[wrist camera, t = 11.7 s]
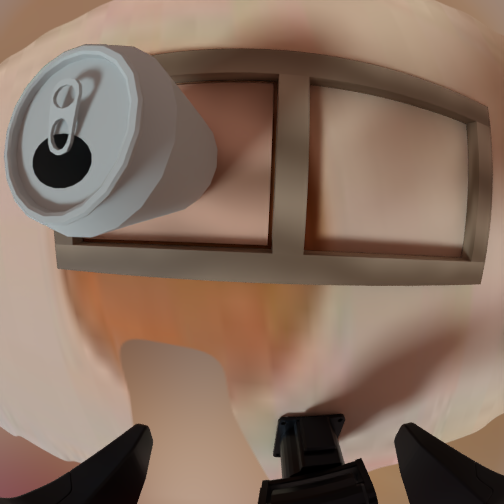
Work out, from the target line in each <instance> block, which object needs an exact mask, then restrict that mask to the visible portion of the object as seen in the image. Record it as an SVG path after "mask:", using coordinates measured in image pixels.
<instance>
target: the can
mask: <svg viewBox="0 0 504 504" xmlns="http://www.w3.org/2000/svg"><path fill="white" fill-rule="evenodd" d="M217 151H218V149H217V145H216V142H215V138H214V135H213V132H212V131H211V129H210V128H209V127H208V125H207V124H206V122H205V121H204V119H203V118H202V117H201V116H200V114H199V113H198V112H197V110H196V109H195V108H194V106H193V105H192V104H191V102H190V101H189V100H188V99H187V97H186V96H185V95H184V93H183V92H182V91H181V90H180V88H179V87H178V86H177V85H176V83H175V82H174V81H173V80H172V78H171V77H170V76H169V75H168V73H167V72H166V71H165V70H164V68H163V67H162V66H161V65H160V63H159V62H158V61H157V60H156V58H154V57H153V56H151V55H149V54H147V53H145V52H143V51H141V50H139V49H137V48H135V47H132V46H118V45H106V44H85V45H82V46H79V47H76V48H73V49H71V50H68V51H65V52H63V53H62V54H61V55H59V56H58V57H56V58H55V59H53V60H52V61H51V62H49V63H48V64H46V65H45V66H44V67H43V68H42V69H41V70H40V71H39V72H38V73H37V75H36V76H35V77H34V78H33V79H32V80H31V82H30V83H29V84H28V85H27V87H26V88H25V90H24V92H23V93H22V95H21V97H20V99H19V101H18V102H17V104H16V106H15V108H14V111H13V114H12V117H11V120H10V123H9V126H8V129H7V134H6V142H5V152H4V161H5V170H6V178H7V182H8V185H9V187H10V190H11V193H12V195H13V198H14V200H15V202H16V203H17V204H18V206H19V207H20V208H21V209H22V210H23V212H24V213H25V214H26V215H27V216H28V217H29V218H31V219H33V220H35V221H37V222H39V223H41V224H43V225H46V226H47V227H49V228H51V229H53V230H55V231H57V232H59V233H61V234H63V235H65V236H67V237H94V236H98V235H101V234H104V233H107V232H110V231H113V230H117V229H120V228H123V227H126V226H130V225H133V224H136V223H140V222H143V221H147V220H150V219H154V218H157V217H161V216H164V215H168V214H171V213H174V212H177V211H181V210H184V209H186V208H187V207H189V206H190V205H191V204H193V203H194V202H196V201H197V200H198V199H200V197H201V196H202V195H203V193H204V192H205V191H206V189H207V188H208V187H209V185H210V184H211V181H212V178H213V176H214V173H215V170H216V168H217Z"/></svg>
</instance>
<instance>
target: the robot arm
mask: <svg viewBox="0 0 504 504" xmlns="http://www.w3.org/2000/svg"><path fill="white" fill-rule="evenodd" d="M344 421H345V417H344V415H343V414H337V415H325V416H308V417H282V418H280V419H279V420H278V425H277V431H276V438H275V444H274V450H273V456H274V457H281V468H282V479H277V480H270V481H269V480H264V481H263V482H262V487H261V488H260V493H259V500H258V504H378V500H377V496H376V492H375V489H374V487H373V484H372V482H371V480H370V477H369V475H368V472H367V470H366V468H365V465H364V463H363V461H362V459H361V458H360V459H357V460H355V461H353V462H350V463H347V464H345V463H344V460H343V456H342V452H341V449H340V445H339V442H338V437H339V435H340V432H341V429H342V427H343V424H344ZM394 443H395V448H396V453H397V458H398V463H399V468H400V473H401V477H402V480H403V483H404V486H405V489H406V492H407V496H408V499H409V503H410V504H504V475H501V474H498V473H496V472H494V471H492V470H490V469H488V468H486V467H484V466H482V465H481V464H479V463H477V462H475V461H473V460H472V459H470V458H468V457H467V456H465V455H463V454H461V453H460V452H458V451H457V450H455V449H454V448H452V447H450V446H449V445H447V444H445V443H444V442H442V441H441V440H439V439H438V438H436V437H434V436H433V435H431V434H430V433H428V432H427V431H425V430H423V429H422V428H420V427H419V426H417V425H416V424H414V423H406V424H403V425H402V426H401V427H400V429H399V431H398V433H397V435H396V437H395V440H394ZM152 446H153V439H152V436H151V432H150V429H149V427H148V426H146V425H143V424H136V425H134V426H133V427H131V428H130V429H129V430H127V431H126V432H125V433H123V434H122V435H121V436H119V437H118V438H117V439H115V440H114V441H112V442H111V443H110V444H108V445H107V446H106V447H104V448H103V449H101V450H100V451H98V452H97V453H96V454H94V455H93V456H91V457H90V458H88V459H87V460H85V461H84V462H83V463H81V464H80V465H79V466H77V467H75V468H74V469H72V470H71V471H70V472H68V473H66V474H64V475H63V476H61V477H59V478H58V479H56V480H54V481H53V482H51V483H49V484H47V485H44V486H42V487H40V488H38V489H35V490H33V491H31V492H28V493H26V494H24V495H21V496H18V497H14V498H0V504H137V502H138V499H139V496H140V493H141V490H142V488H143V485H144V482H145V479H146V474H147V470H148V465H149V460H150V455H151V450H152Z"/></svg>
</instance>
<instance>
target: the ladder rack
mask: <svg viewBox="0 0 504 504" xmlns="http://www.w3.org/2000/svg"><path fill="white" fill-rule="evenodd" d="M152 56H153V57H154V58H156V60H157V61H158V62H159V63H160V65H161V66H162V67H163V68H164V70H165V71H166V72H167V73H168V75H169V76H170V77H171V78H172V80H173V81H174V82H175V83H183V82H197V81H226V80H243V81H272V82H278V92H277V129H276V158H275V183H274V206H273V227H272V246H271V249H261V248H237V247H213V246H188V245H162V244H135V243H108V242H83V239H112V240H143V241H171V242H198V243H224V244H249V245H267V243H268V223H269V201H270V177H271V151H272V122H273V88H274V84H270V83H198V84H183V85H177V86H178V87H179V88H180V90H181V91H182V92H183V93H184V95H185V96H186V97H187V99H188V100H189V101H190V102H191V104H192V105H193V106H194V108H195V109H196V110H197V112H198V113H199V114H200V116H201V117H202V118H203V119H204V121H205V122H206V124H207V125H208V127H209V128H210V129H211V131H212V132H213V135H214V138H215V142H216V145H217V149H218V151H217V168H216V170H215V173H214V176H213V178H212V181H211V184H210V185H209V187H208V188H207V189H206V191H205V192H204V193H203V195H202V196H201V197H200V199H198V200H197V201H196V202H194V203H193V204H191V205H190V206H189V207H187V208H186V209H184V210H181V211H177V212H174V213H171V214H168V215H164V216H161V217H157V218H154V219H150V220H147V221H143V222H140V223H136V224H133V225H130V226H126V227H123V228H120V229H117V230H113V231H110V232H107V233H104V234H101V235H98V236H94V237H67V236H65V235H63V234H61V233H59V232H57V231H55V230H54V237H55V250H56V259H57V268H58V269H66V270H76V271H87V272H98V273H109V274H121V275H134V276H147V277H161V278H176V279H192V280H209V281H228V282H250V283H276V284H308V285H365V286H419V285H471V284H481V279H482V274H483V269H484V264H485V258H486V252H487V245H488V238H489V230H490V220H491V207H492V183H493V166H492V142H491V130H490V120H489V112H488V107H486V106H484V105H482V104H480V103H478V102H476V101H474V100H472V99H470V98H468V97H466V96H464V95H461V94H459V93H457V92H454V91H452V90H450V89H447V88H445V87H442V86H440V85H437V84H435V83H432V82H429V81H426V80H424V79H421V78H418V77H415V76H412V75H409V74H405V73H402V72H399V71H395V70H392V69H388V68H385V67H381V66H377V65H373V64H369V63H364V62H360V61H355V60H350V59H345V58H340V57H334V56H328V55H321V54H314V53H306V52H297V51H286V50H271V49H208V50H193V51H182V52H173V53H165V54H158V55H152ZM310 85H316V86H324V87H331V88H337V89H343V90H349V91H355V92H360V93H365V94H370V95H374V96H379V97H383V98H387V99H391V100H395V101H399V102H403V103H406V104H410V105H413V106H417V107H420V108H423V109H427V110H430V111H433V112H436V113H439V114H442V115H444V116H447V117H450V118H453V119H455V120H458V121H461V122H463V123H466V124H467V137H468V202H467V215H466V226H465V235H464V243H463V250H462V256H461V258H458V257H438V256H417V255H396V254H375V253H353V252H331V251H308V250H304V239H305V225H306V208H307V189H308V164H309V120H310Z"/></svg>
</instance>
